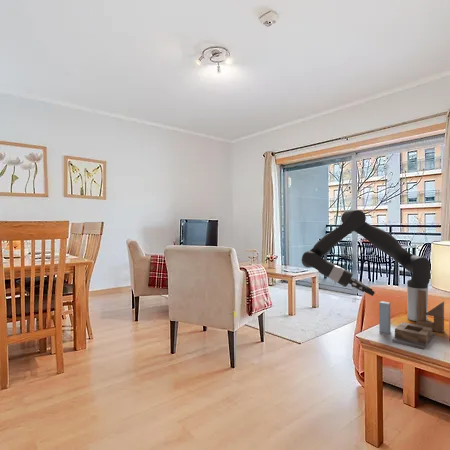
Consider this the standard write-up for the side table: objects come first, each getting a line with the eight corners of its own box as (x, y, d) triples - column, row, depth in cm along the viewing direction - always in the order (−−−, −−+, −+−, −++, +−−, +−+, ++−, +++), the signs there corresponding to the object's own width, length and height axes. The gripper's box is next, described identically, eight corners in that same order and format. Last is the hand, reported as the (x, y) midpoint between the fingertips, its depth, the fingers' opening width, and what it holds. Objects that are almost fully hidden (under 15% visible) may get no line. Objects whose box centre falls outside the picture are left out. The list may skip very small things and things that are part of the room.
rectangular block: (381, 329, 153) (381, 301, 153) (390, 331, 150) (390, 302, 150) (379, 331, 151) (379, 302, 150) (388, 333, 148) (388, 304, 148)
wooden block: (442, 333, 147) (442, 294, 147) (416, 327, 155) (416, 291, 154) (444, 330, 150) (444, 293, 149) (418, 325, 158) (418, 289, 157)
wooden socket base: (405, 328, 154) (405, 319, 153) (434, 335, 145) (434, 325, 145) (392, 341, 139) (392, 331, 139) (423, 349, 131) (423, 338, 131)
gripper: (344, 269, 147) (378, 287, 142) (343, 267, 161) (374, 284, 156) (336, 284, 148) (370, 302, 143) (336, 280, 162) (367, 297, 156)
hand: (372, 292), depth 149 cm, fingers open, 8 cm apart
